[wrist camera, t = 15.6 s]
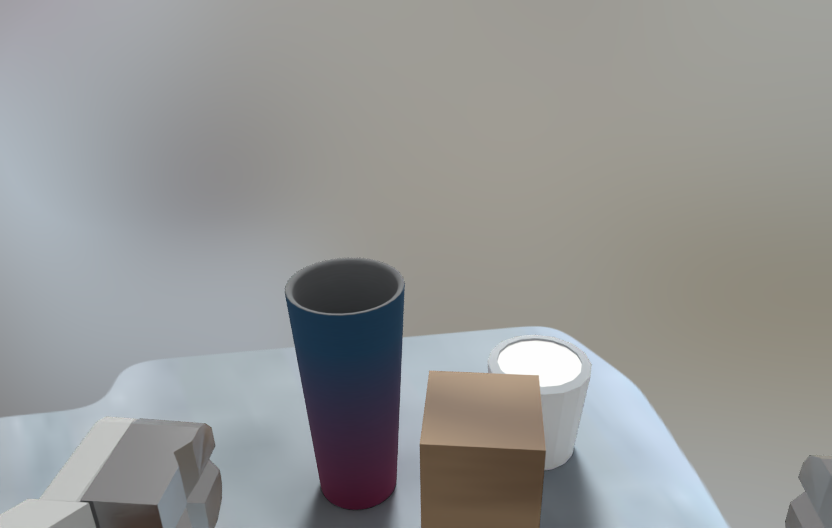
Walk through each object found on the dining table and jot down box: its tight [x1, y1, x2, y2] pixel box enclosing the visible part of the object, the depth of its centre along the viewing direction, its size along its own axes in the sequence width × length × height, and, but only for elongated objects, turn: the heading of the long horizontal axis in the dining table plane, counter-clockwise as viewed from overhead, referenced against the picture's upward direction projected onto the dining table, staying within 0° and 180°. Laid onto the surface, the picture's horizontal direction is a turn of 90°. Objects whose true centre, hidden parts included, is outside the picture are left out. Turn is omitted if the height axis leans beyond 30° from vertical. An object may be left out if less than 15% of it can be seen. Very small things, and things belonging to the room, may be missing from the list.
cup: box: [285, 258, 405, 510], centre depth 44 cm, size 7×7×15 cm
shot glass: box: [488, 335, 592, 470], centre depth 49 cm, size 7×7×7 cm
